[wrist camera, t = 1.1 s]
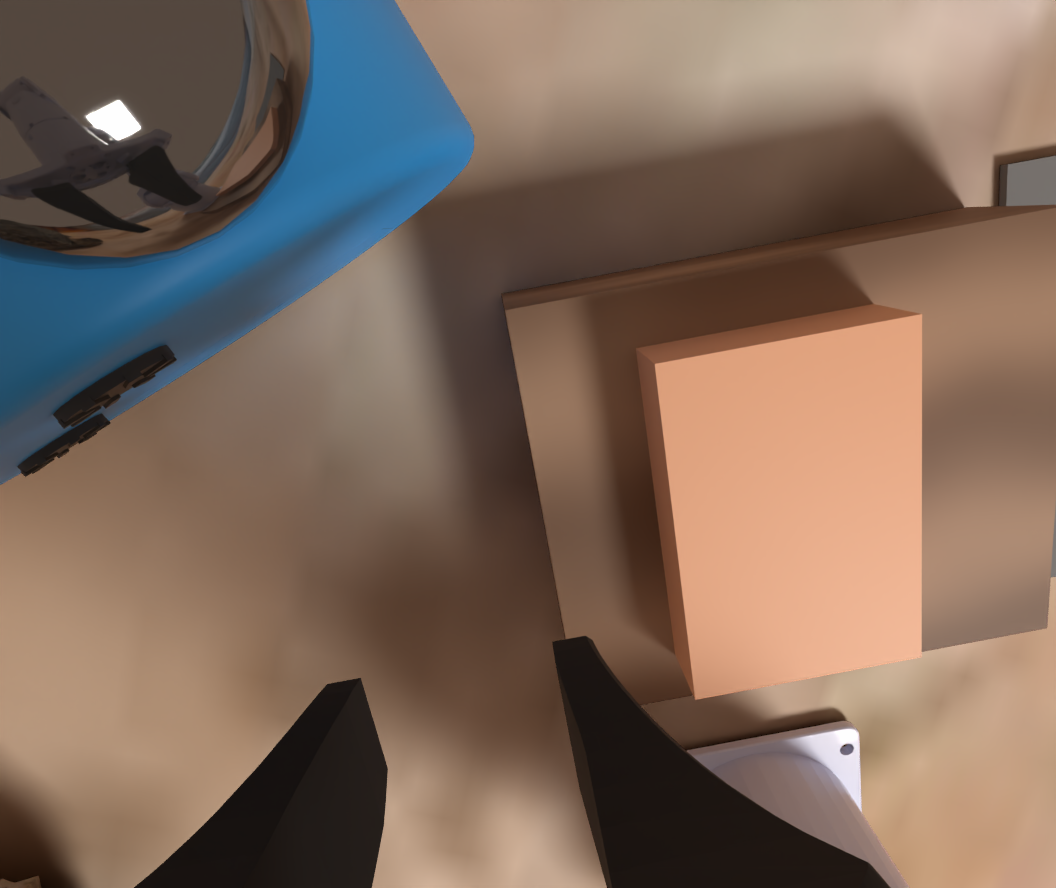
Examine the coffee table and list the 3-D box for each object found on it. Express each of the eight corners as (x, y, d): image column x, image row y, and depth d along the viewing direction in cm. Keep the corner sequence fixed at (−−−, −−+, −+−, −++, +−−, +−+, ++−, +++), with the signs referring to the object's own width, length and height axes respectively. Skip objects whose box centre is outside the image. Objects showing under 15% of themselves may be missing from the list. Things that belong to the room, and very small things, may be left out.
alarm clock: (355, -37, 18) (-161, -1089, 4) (488, 180, 20) (503, 69, 5) (-29, 248, 19) (-1485, 322, 5) (127, 426, 21) (-620, 856, 7)
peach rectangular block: (880, 615, 20) (921, 657, 18) (675, 654, 20) (695, 700, 18) (873, 303, 17) (922, 313, 15) (635, 348, 17) (654, 363, 15)
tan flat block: (958, 564, 24) (1047, 627, 20) (565, 638, 24) (580, 716, 20) (965, 207, 21) (1075, 204, 17) (501, 293, 20) (505, 310, 17)
